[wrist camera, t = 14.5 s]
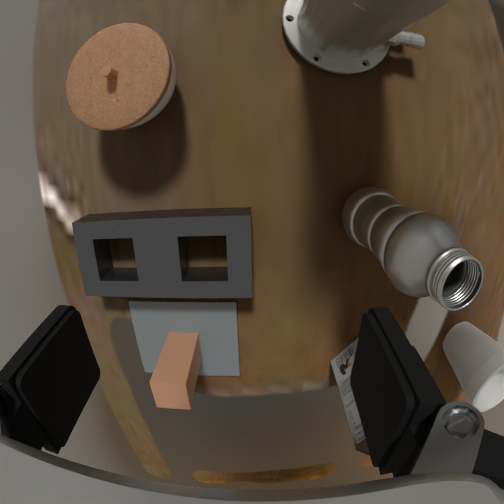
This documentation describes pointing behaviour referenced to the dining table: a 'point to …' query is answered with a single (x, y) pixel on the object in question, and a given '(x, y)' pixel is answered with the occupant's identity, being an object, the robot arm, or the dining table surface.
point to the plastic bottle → (413, 248)
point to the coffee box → (349, 394)
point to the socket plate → (165, 253)
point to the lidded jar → (121, 78)
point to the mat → (189, 331)
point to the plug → (177, 371)
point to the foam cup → (476, 364)
